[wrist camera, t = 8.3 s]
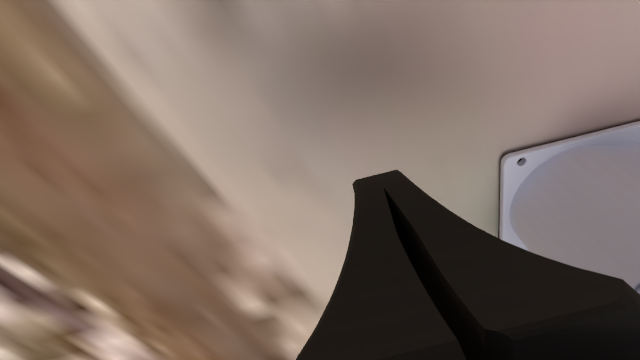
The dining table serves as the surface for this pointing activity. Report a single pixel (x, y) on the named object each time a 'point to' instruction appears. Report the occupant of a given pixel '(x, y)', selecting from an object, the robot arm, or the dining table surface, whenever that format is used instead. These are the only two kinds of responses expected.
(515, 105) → the dining table surface
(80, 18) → the dining table surface
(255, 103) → the dining table surface
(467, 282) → the robot arm
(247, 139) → the dining table surface
